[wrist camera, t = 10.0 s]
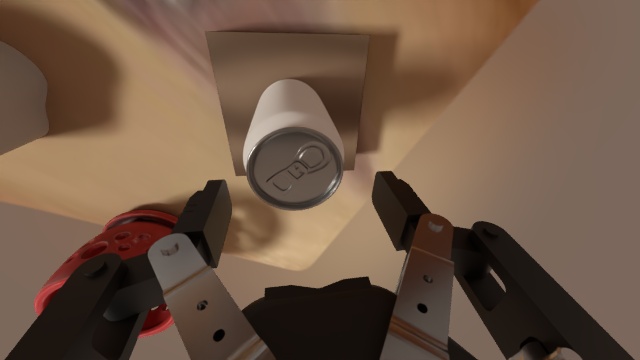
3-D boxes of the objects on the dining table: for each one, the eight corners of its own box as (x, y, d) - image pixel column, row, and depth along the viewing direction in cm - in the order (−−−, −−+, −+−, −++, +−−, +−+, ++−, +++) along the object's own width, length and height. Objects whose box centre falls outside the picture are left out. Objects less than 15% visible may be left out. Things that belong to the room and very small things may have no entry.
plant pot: (162, 271, 39) (121, 353, 29) (85, 225, 32) (-4, 313, 22) (224, 240, 37) (203, 317, 27) (156, 184, 30) (94, 260, 20)
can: (334, 114, 24) (371, 174, 14) (289, 153, 26) (293, 230, 16) (292, 61, 21) (300, 91, 11) (243, 109, 22) (212, 172, 12)
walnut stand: (216, 31, 22) (204, 31, 19) (357, 34, 24) (369, 35, 20) (241, 159, 30) (235, 176, 26) (346, 155, 31) (353, 170, 28)
